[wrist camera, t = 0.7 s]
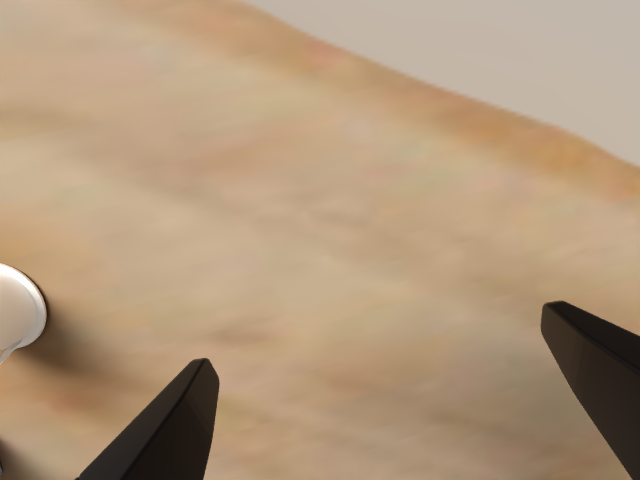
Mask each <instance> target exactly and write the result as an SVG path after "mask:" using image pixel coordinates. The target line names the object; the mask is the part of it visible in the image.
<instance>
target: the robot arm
mask: <svg viewBox="0 0 640 480" xmlns="http://www.w3.org/2000/svg"><path fill="white" fill-rule="evenodd" d="M541 332H542V335H543V337H544V339H545V341H546V343H547V345H548V347H549V349H550V350H551V352H552V354H553V356H554V358H555V360H556V362H557V363H558V365H559V367H560V369H561V371H562V373H563V374H564V376H565V378H566V380H567V382H568V384H569V385H570V387H571V389H572V391H573V392H574V394H575V396H576V397H577V399H578V400H579V402H580V403H581V405H582V406H583V408H584V409H585V411H586V412H587V414H588V415H589V416H590V418H591V419H592V421H593V422H594V424H595V425H596V427H597V428H598V430H599V431H600V433H601V434H602V435H603V437H604V438H605V440H606V441H607V443H608V444H609V446H610V447H611V449H612V450H613V452H614V453H615V455H616V456H617V457H618V459H619V460H620V462H621V463H622V465H623V466H624V468H625V469H626V471H627V472H628V474H629V475H630V477H631V478H632V479H633V480H640V336H638V335H636V334H634V333H632V332H630V331H627V330H625V329H623V328H621V327H619V326H617V325H614V324H612V323H610V322H608V321H606V320H604V319H602V318H599V317H597V316H595V315H593V314H591V313H589V312H586V311H584V310H582V309H580V308H578V307H576V306H573V305H571V304H569V303H567V302H565V301H554V302H548V303H545V304H544V305H543V308H542V318H541ZM218 392H219V377H218V375H217V373H216V371H215V370H214V368H213V366H212V364H211V362H210V360H209V359H207V358H201V359H195V360H192V361H191V362H190V363H189V364H188V365H187V366H186V367H185V368H184V369H183V370H182V371H181V372H180V373H179V374H178V375H177V376H176V377H175V378H174V379H173V380H172V381H171V382H170V383H169V384H168V385H167V386H166V387H165V388H164V389H163V390H162V391H161V393H160V394H159V395H158V396H157V397H156V398H155V399H154V400H153V401H152V402H151V403H150V404H149V405H148V406H147V407H146V408H145V409H144V410H143V411H142V412H141V413H140V414H139V415H138V416H137V417H136V418H135V419H134V420H133V421H132V422H131V423H130V424H129V425H128V426H127V427H126V428H125V429H124V430H123V431H122V432H121V433H120V434H119V435H118V436H117V437H116V438H115V439H114V440H113V441H112V442H111V443H110V444H109V445H108V446H107V447H106V448H105V449H104V450H103V451H102V453H101V454H100V455H99V456H98V457H97V458H96V459H95V460H94V461H93V462H92V463H91V464H90V465H89V466H88V467H87V468H86V469H85V470H84V471H83V472H82V473H81V474H80V476H79V477H77V478H76V479H75V480H203V478H204V474H205V470H206V465H207V461H208V457H209V452H210V448H211V443H212V438H213V431H214V424H215V416H216V408H217V400H218Z"/></svg>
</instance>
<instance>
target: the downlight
mask: <svg viewBox="0 0 640 480" xmlns="http://www.w3.org/2000/svg"><path fill="white" fill-rule="evenodd" d="M45 323H46V306H45V303H44V300H43V297H42V295H41V293H40V291H39V290H38V288H37V287H36V286H35V284H34V283H33V282H32V281H31V280H30V279H29V278H28V277H27V276H26V275H24V274H23V273H22V272H20V271H19V270H17V269H15V268H13V267H11V266H8V265H5V264H1V263H0V351H2V350H4V349H6V351H5V352H4V353H3V354H2V355H1V356H0V365H1V364H2V363H3V362H4V361H5V359H6V358H7V357H8V356H9V355H10V354H11V353H12V352H13V351H14V350H15V349H16V348H21V347H24V346H26V345H28V344H30V343H32V342H33V341H34V340H36V339H37V338H38V337H39V336H40V334H41V333H42V331H43V329H44V327H45Z"/></svg>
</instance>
